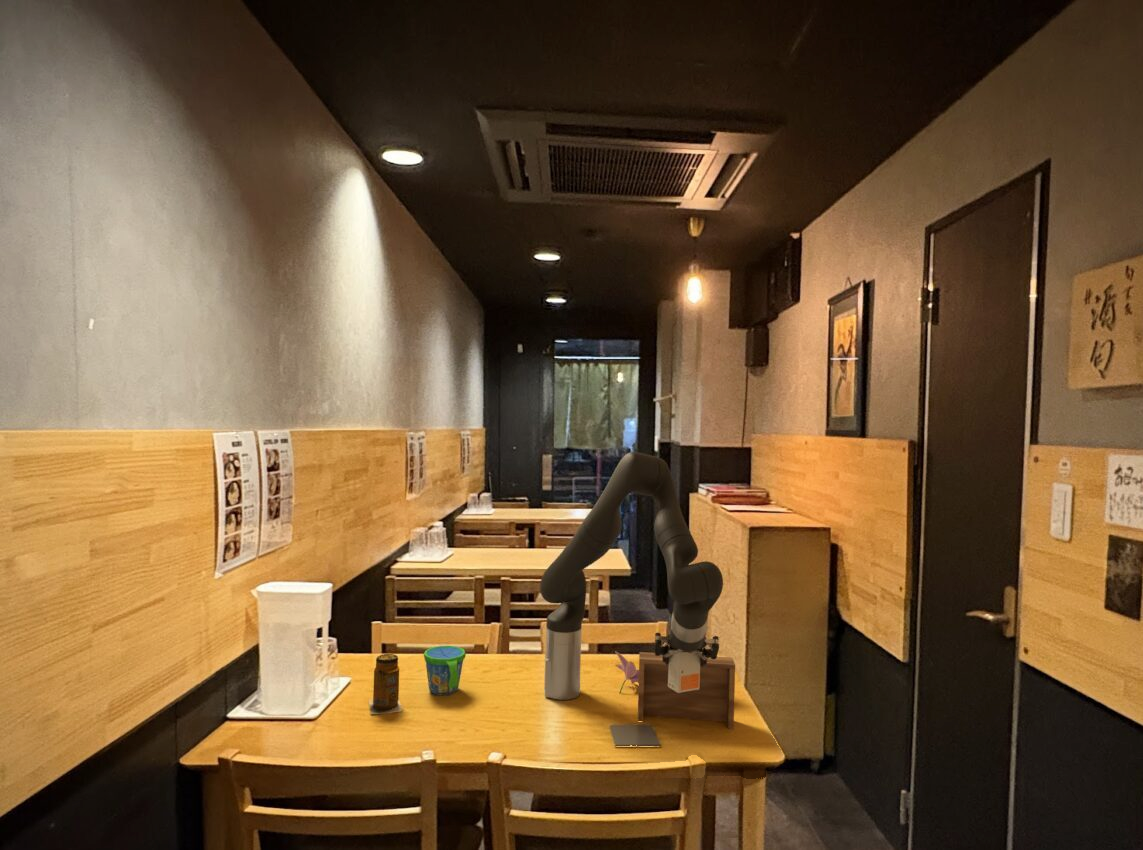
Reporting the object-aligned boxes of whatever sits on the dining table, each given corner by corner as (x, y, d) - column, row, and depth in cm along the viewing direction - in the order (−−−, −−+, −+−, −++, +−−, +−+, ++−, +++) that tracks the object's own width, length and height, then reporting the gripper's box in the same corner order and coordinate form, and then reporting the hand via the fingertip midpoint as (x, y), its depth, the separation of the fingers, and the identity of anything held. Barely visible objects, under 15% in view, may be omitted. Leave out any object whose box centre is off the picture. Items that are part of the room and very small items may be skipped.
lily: (652, 705, 173) (662, 667, 177) (611, 688, 172) (622, 651, 175) (635, 701, 184) (646, 666, 188) (597, 686, 183) (608, 651, 186)
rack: (733, 728, 158) (735, 664, 158) (637, 721, 160) (639, 658, 160) (730, 719, 163) (732, 657, 163) (637, 713, 165) (639, 652, 165)
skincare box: (678, 694, 148) (680, 639, 148) (667, 687, 152) (668, 634, 152) (700, 689, 151) (702, 636, 151) (688, 683, 155) (690, 631, 155)
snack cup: (471, 699, 171) (472, 659, 171) (429, 705, 167) (430, 663, 167) (456, 677, 186) (457, 640, 186) (418, 682, 181) (419, 644, 181)
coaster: (615, 747, 147) (615, 744, 147) (609, 727, 157) (609, 724, 157) (660, 747, 148) (660, 744, 148) (651, 726, 158) (651, 724, 158)
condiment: (398, 698, 171) (400, 651, 171) (402, 711, 163) (403, 662, 163) (368, 701, 168) (370, 653, 168) (371, 715, 160) (372, 665, 160)
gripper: (722, 611, 144) (715, 648, 155) (654, 607, 145) (652, 644, 157) (724, 644, 138) (716, 679, 150) (654, 639, 140) (652, 675, 151)
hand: (683, 661), depth 153 cm, fingers closed on skincare box, 7 cm apart
